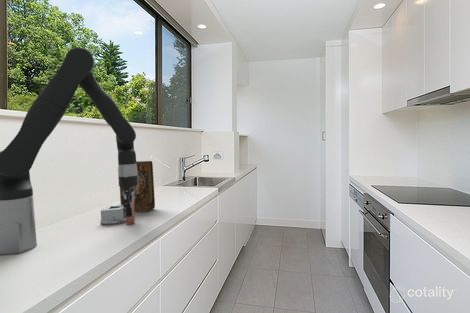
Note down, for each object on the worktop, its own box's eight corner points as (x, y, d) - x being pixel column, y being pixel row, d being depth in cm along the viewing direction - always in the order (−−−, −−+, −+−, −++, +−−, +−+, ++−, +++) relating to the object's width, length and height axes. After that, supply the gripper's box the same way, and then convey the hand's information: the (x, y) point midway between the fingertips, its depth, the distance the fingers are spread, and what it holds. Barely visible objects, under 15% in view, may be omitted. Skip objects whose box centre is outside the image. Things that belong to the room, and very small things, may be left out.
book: (119, 212, 130) (116, 162, 129) (125, 209, 135) (122, 161, 134) (150, 211, 128) (148, 161, 127) (155, 209, 134) (152, 160, 133)
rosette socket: (126, 223, 110) (125, 209, 110) (96, 225, 108) (95, 211, 108) (133, 215, 122) (132, 203, 122) (105, 217, 120) (105, 205, 120)
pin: (134, 224, 108) (133, 192, 107) (124, 225, 107) (122, 193, 106) (136, 221, 112) (135, 190, 111) (126, 222, 111) (125, 191, 111)
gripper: (123, 173, 115) (125, 211, 116) (113, 177, 101) (115, 220, 102) (140, 172, 116) (142, 210, 117) (133, 176, 102) (135, 219, 103)
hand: (130, 215), depth 109 cm, fingers closed on pin, 3 cm apart
